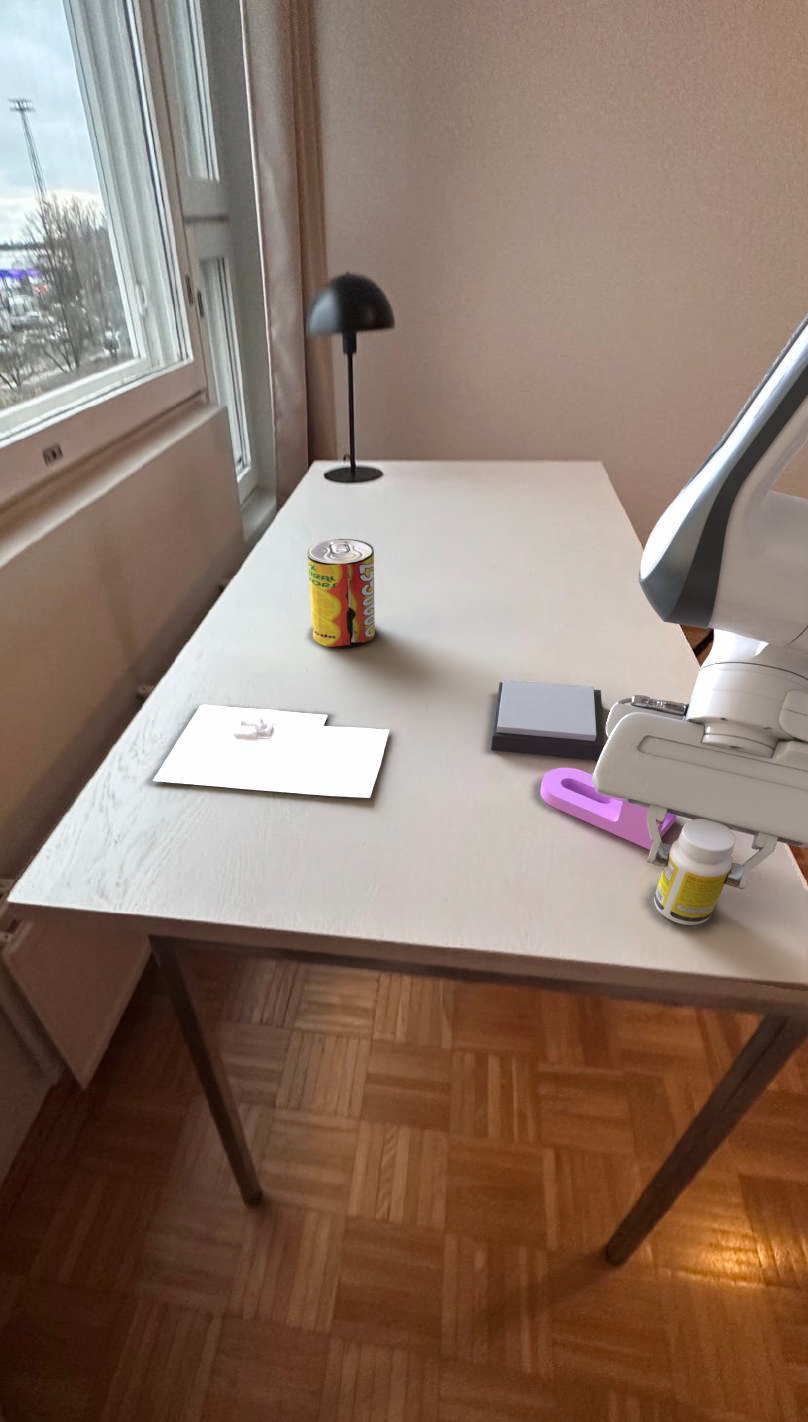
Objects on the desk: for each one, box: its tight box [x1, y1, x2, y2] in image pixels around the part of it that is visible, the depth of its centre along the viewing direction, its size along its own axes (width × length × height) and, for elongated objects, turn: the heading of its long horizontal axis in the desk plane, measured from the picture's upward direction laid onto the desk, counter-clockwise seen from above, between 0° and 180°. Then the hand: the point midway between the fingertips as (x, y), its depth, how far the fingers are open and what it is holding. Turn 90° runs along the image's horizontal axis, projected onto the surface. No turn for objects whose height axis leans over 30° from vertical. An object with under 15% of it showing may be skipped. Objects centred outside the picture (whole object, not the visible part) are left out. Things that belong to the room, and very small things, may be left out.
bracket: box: [539, 767, 678, 851], centre depth 72 cm, size 13×6×7 cm, turn 48°
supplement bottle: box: [653, 819, 737, 926], centre depth 61 cm, size 5×5×8 cm
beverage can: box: [306, 538, 376, 649], centre depth 102 cm, size 9×9×12 cm
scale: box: [490, 679, 606, 761], centre depth 85 cm, size 12×12×3 cm
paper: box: [152, 704, 390, 799], centre depth 84 cm, size 25×17×1 cm
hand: (694, 875), depth 61 cm, fingers closed on supplement bottle, 5 cm apart
